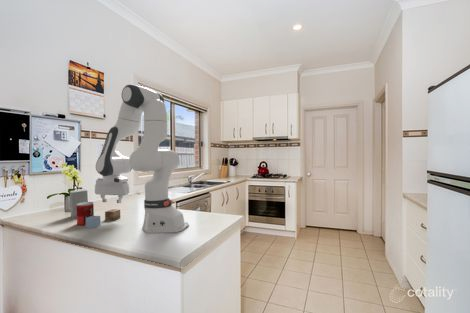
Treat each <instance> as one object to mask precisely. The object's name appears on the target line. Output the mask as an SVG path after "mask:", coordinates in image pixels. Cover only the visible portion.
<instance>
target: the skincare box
mask: <svg viewBox="0 0 470 313" xmlns="http://www.w3.org/2000/svg"><path fill="white" fill-rule="evenodd" d="M88 198H89V196H88V190H87V189H85V188H83V189H77V190H70V191H69V203H70V204H69V206H70V216H71V218H72V219H77V211H76V205H77V204H78V203H82V202H89V201H88V200H89V199H88Z"/></svg>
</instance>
